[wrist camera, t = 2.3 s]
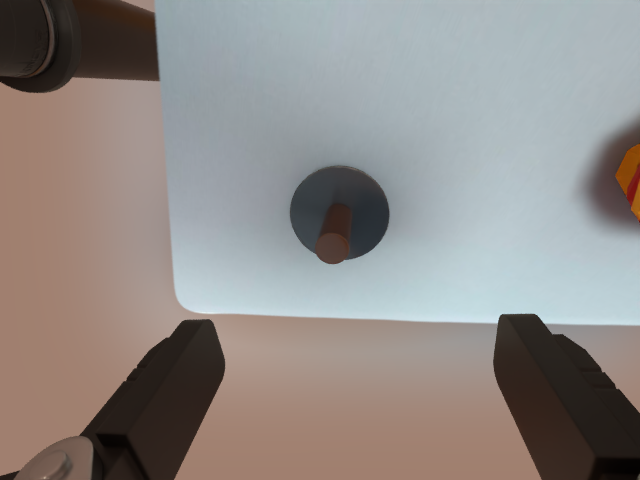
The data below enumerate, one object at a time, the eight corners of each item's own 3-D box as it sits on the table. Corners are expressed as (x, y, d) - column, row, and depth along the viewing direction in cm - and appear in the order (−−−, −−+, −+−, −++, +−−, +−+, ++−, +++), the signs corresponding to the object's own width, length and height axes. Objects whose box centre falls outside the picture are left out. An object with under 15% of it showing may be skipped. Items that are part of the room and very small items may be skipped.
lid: (271, 214, 32) (246, 247, 25) (338, 143, 28) (329, 159, 22) (339, 274, 34) (333, 320, 27) (410, 215, 30) (423, 251, 23)
